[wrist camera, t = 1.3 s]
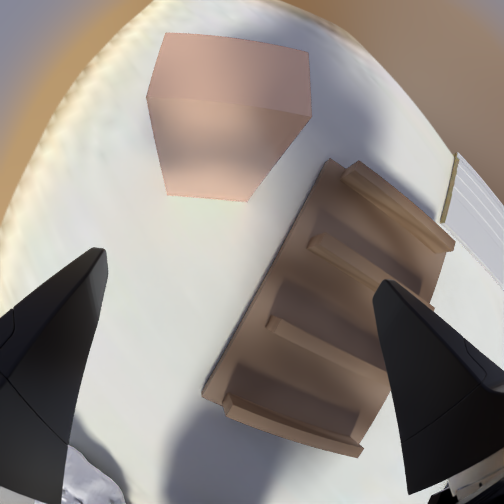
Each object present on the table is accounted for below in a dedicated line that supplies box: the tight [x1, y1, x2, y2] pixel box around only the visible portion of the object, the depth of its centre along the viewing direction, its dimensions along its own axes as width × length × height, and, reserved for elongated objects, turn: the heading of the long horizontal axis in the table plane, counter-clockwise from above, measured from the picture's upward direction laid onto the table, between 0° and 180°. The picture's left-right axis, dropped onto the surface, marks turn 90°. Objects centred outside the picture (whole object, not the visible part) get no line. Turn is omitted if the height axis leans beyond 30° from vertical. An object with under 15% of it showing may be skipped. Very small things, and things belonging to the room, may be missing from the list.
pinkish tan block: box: [146, 33, 312, 202], centre depth 16 cm, size 4×6×13 cm, turn 87°
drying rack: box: [201, 158, 455, 458], centre depth 22 cm, size 21×15×4 cm
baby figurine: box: [34, 445, 126, 504], centre depth 15 cm, size 9×12×8 cm
